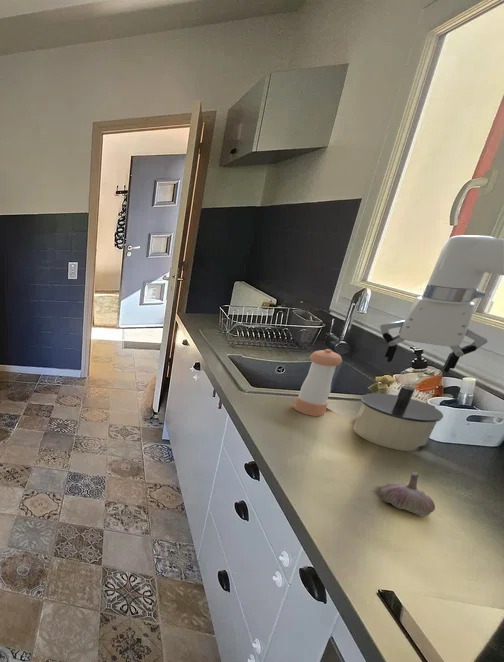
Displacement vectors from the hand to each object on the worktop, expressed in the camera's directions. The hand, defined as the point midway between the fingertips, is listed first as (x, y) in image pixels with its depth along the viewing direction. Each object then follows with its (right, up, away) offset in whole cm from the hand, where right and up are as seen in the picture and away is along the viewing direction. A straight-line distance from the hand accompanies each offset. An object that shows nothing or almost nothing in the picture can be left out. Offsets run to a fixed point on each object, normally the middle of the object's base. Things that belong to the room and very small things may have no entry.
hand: (416, 365), depth 92 cm
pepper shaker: (-9, -13, +22) cm, 27 cm away
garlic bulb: (-20, -29, -16) cm, 38 cm away
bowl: (+1, -19, +8) cm, 20 cm away
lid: (+1, -11, +5) cm, 12 cm away
